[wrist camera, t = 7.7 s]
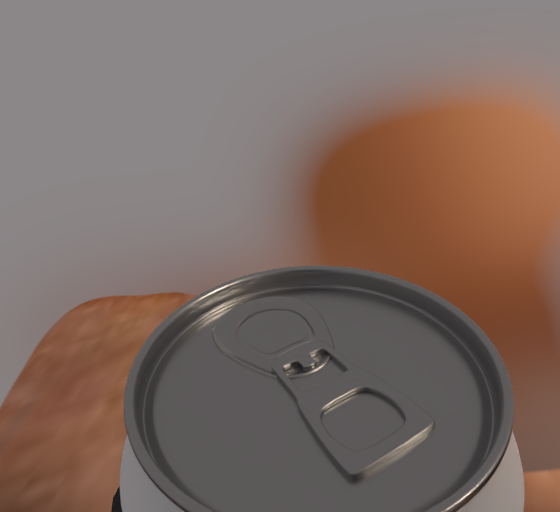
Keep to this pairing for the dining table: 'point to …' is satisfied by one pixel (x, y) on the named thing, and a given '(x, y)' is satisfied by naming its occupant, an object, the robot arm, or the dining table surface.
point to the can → (319, 402)
